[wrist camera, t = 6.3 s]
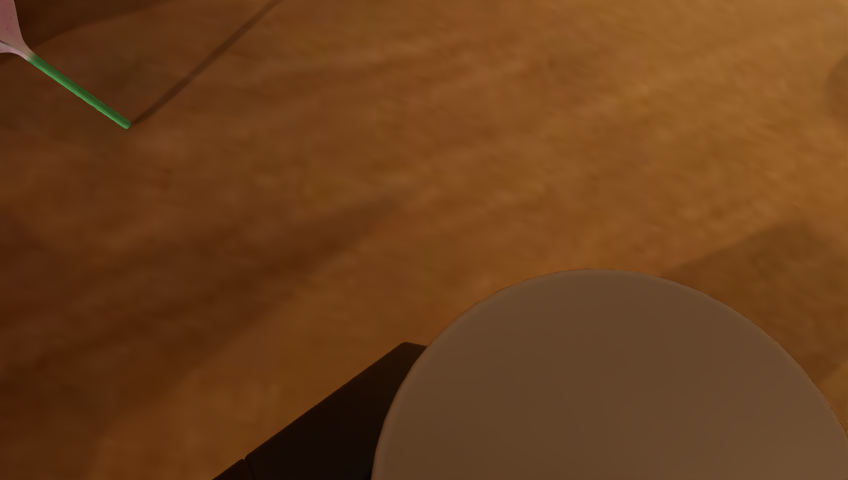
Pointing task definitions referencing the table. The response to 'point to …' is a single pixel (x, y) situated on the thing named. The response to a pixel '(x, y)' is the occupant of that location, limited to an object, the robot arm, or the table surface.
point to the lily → (6, 37)
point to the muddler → (607, 391)
